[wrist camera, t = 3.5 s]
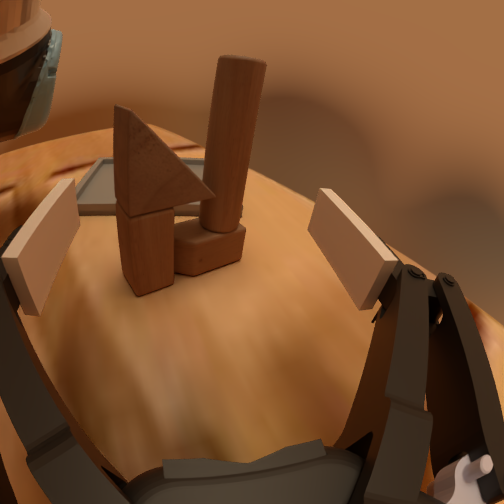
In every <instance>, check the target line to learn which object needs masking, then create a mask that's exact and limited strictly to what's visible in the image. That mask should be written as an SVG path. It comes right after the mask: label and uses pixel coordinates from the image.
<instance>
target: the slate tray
mask: <svg viewBox="0 0 504 504" xmlns="http://www.w3.org/2000/svg"><path fill="white" fill-rule="evenodd" d="M180 159H181V160H182V161H183V162H184V163H185V164H186V165H187V166H188V167H189V168H190V169H191V170H192V171H193V172H194V173H195V174H196V175H197V176H198V177H199V178H200V179H201V180H202V178H203V168H204V159H203V158H180ZM75 189H76V198H77V206H78V213H79V215H116V205H115V204H116V200H117V199H116V198H115V191H114V163H113V157H104V158H99V159H98V160H97V161H96V162H95V163H94V165H93V166H92V167H91V168H90V169H89V171H88V172H87V173H86V174H85V176H84V177H83V178H82V179H81V181H80V182H79V183H78V185H77V186H76V187H75ZM173 208H174V211H175V216H199V211H200V201H198V202H193V203H189V204H184V205H179V206H175V207H173ZM242 210H243V205H242V208H241V215H240V217H241V216H242Z"/></svg>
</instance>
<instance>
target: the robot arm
mask: <svg viewBox="0 0 504 504" xmlns="http://www.w3.org/2000/svg"><path fill="white" fill-rule="evenodd" d="M40 3H41V0H0V142H3V141H7V140H11V139H17V138H18V137H19V136H22V135H25V134H28V133H31V132H34V131H37V130H39V129H40V128H42V127H43V126H44V124H45V123H46V121H47V119H48V116H49V113H50V109H51V103H52V98H53V92H54V87H55V80H56V71H57V67H58V63H59V57H60V52H61V45H62V32H61V31H56V30H53V29H52V30H51V23H52V19H51V16H50V15H49V14H48V13H47V12H46V11H45V10H43V9H42V8H40ZM79 227H80V220H79V213H78V206H77V198H76V189H75V179H74V178H69V179H61V180H60V181H59V182H58V184H57V185H56V186H55V187H54V188H53V189H52V190H51V192H50V193H49V194H48V195H47V196H46V197H45V199H44V200H43V201H42V202H41V203H40V205H39V206H38V207H37V208H36V210H35V211H34V212H33V213H32V215H31V216H30V217H29V218H28V220H27V221H26V222H25V224H24V225H20V226H19V227H18V228H17V229H15V230H14V231H13V232H12V233H11V235H10V236H9V237H8V239H7V240H6V241H5V243H4V244H3V246H2V247H1V249H0V396H1V399H2V401H3V404H4V406H5V408H6V411H7V413H8V415H9V417H10V419H11V421H12V424H13V426H14V428H15V430H16V432H17V434H18V436H19V438H20V439H21V441H22V443H23V445H24V447H25V449H26V451H27V454H28V456H27V457H26V462H27V465H28V467H29V469H30V471H31V473H32V475H33V476H34V478H35V479H36V481H37V482H38V484H39V485H40V487H41V488H42V490H43V491H44V493H45V494H46V496H47V497H48V498H49V500H50V501H51V503H52V504H495V503H497V502H500V501H502V500H504V420H503V415H502V410H501V405H500V401H499V397H498V393H497V389H496V385H495V381H494V378H493V374H492V371H491V367H490V364H489V361H488V358H487V355H486V352H485V349H484V346H483V343H482V340H481V337H480V335H479V332H478V329H477V327H476V324H475V322H474V319H473V317H472V314H471V312H470V309H469V307H468V305H467V302H466V300H465V298H464V295H463V293H462V291H461V289H460V287H459V285H458V283H457V282H456V281H455V279H454V278H453V277H452V276H451V275H449V274H446V273H439V274H438V276H437V277H436V279H435V281H434V280H430V279H427V277H426V275H425V274H424V272H422V271H421V270H420V269H419V268H417V267H415V266H413V265H409V264H406V265H404V264H403V263H402V262H401V260H400V259H399V258H398V257H397V256H396V255H395V254H394V252H393V251H392V250H390V248H389V247H388V246H387V245H386V244H385V242H383V240H382V239H381V238H380V237H378V236H377V235H376V234H374V233H373V232H372V231H371V230H370V228H369V227H368V226H367V225H366V224H365V223H364V222H363V221H362V220H361V219H360V218H359V217H358V216H357V215H356V214H355V213H354V212H353V211H352V210H351V209H350V208H349V206H348V205H347V204H345V202H344V201H343V200H341V199H340V197H338V196H337V194H335V193H334V192H333V191H332V190H331V189H324V188H320V189H319V192H318V195H317V199H316V202H315V206H314V209H313V213H312V216H311V220H310V223H309V226H308V231H309V233H310V234H311V236H312V237H313V239H314V240H315V242H316V243H317V245H318V246H319V248H320V249H321V251H322V253H323V254H324V256H325V257H326V259H327V260H328V262H329V263H330V265H331V266H332V268H333V270H334V271H335V273H336V274H337V276H338V277H339V279H340V281H341V282H342V284H343V285H344V287H345V289H346V290H347V292H348V293H349V295H350V297H351V298H352V300H353V302H354V303H355V305H356V306H357V308H358V310H368V309H372V308H373V307H374V305H375V303H376V301H377V300H378V299H379V301H380V302H381V304H382V305H381V307H380V308H379V310H378V312H377V313H376V315H375V317H374V318H373V320H372V322H371V323H374V321H375V320H376V323H375V327H374V332H373V336H372V340H371V344H370V348H369V352H368V356H367V359H366V363H365V367H364V370H363V374H362V377H361V380H360V384H359V387H358V390H357V393H356V396H355V399H354V402H353V405H352V408H351V411H350V414H349V417H348V420H347V423H346V425H345V428H344V430H343V433H342V434H341V436H340V437H339V439H338V440H337V442H336V443H335V445H334V446H333V447H329V446H323V443H322V440H321V439H318V440H314V441H310V442H306V443H302V444H298V445H293V446H288V447H285V448H283V449H281V450H279V451H276V452H274V453H272V454H270V455H268V456H265V457H263V458H261V459H258V460H256V461H253V462H251V463H237V462H227V461H219V460H212V459H205V458H199V459H169V460H162V462H163V466H162V467H158V468H154V469H151V470H149V471H146V472H144V473H142V474H140V475H138V476H137V477H136V478H134V479H133V480H131V481H130V482H129V483H128V482H127V481H126V480H125V479H124V478H123V476H122V475H121V474H120V473H119V472H118V471H117V470H116V469H115V468H114V467H113V466H112V465H111V464H110V463H109V462H108V461H107V460H106V459H105V458H104V457H103V456H102V454H101V453H100V452H99V451H98V449H97V448H96V447H95V446H94V444H93V443H92V442H91V441H90V439H89V438H88V437H87V435H86V434H85V433H84V431H83V430H82V429H81V427H80V426H79V424H78V423H77V422H76V420H75V419H74V417H73V416H72V414H71V413H70V411H69V410H68V408H67V407H66V405H65V404H64V402H63V401H62V399H61V397H60V396H59V394H58V392H57V391H56V389H55V387H54V386H53V384H52V382H51V381H50V379H49V377H48V375H47V373H46V372H45V370H44V368H43V366H42V364H41V362H40V360H39V358H38V356H37V354H36V352H35V350H34V348H33V346H32V344H31V342H30V340H29V338H28V335H27V333H26V331H25V329H24V326H23V324H22V322H21V319H20V317H19V315H18V313H17V310H18V308H19V305H21V307H22V309H23V311H24V313H25V315H33V316H40V315H41V313H42V310H43V307H44V304H45V302H46V299H47V297H48V294H49V292H50V289H51V287H52V284H53V282H54V279H55V277H56V275H57V272H58V270H59V268H60V266H61V263H62V261H63V259H64V257H65V255H66V253H67V250H68V248H69V246H70V244H71V242H72V240H73V238H74V236H75V234H76V232H77V230H78V228H79ZM442 314H443V317H442V321H441V322H440V324H439V321H438V319H439V318H440V317H441V315H442ZM425 392H426V401H427V410H428V411H425V410H424V401H425ZM429 446H430V455H431V464H432V470H433V475H434V479H435V481H433V482H431V483H430V484H429V485H428V487H427V494H426V493H424V492H422V491H420V488H421V484H422V480H423V476H424V471H425V467H426V462H427V457H428V451H429ZM0 504H18V503H17V500H16V497H15V495H14V492H13V489H12V487H11V484H10V482H9V479H8V476H7V473H6V470H5V467H4V464H3V461H2V457H1V454H0Z"/></svg>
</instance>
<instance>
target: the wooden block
mask: <svg viewBox="0 0 504 504" xmlns="http://www.w3.org/2000/svg"><path fill="white" fill-rule="evenodd" d="M266 66H267V65H266V62H265V61H263V60H261V59H256V58H251V57H245V56H236V55H223V56H220V57H219V59H218V63H217V70H216V77H215V82H214V89H213V96H212V103H211V110H210V117H209V125H208V133H207V141H206V150H205V159H204V168H203V178H202V180H201V179H200V178H199V177H198V176H197V175H196V174H195V173H194V172H193V171H192V170H191V169H190V168H189V167H188V166H187V165H186V164H185V163H184V162H183V161H182V160H181V159H180V158H179V157H178V156H177V155H176V154H175V153H174V152H173V151H172V150H171V149H170V148H169V147H168V146H167V145H166V144H165V143H164V142H163V141H162V140H161V139H160V138H159V137H158V136H157V135H156V134H155V132H154V131H153V130H152V129H151V128H150V127H149V126H148V125H147V124H146V123H145V122H143V121H142V119H141V118H140V117H139V116H138V115H136V113H135V112H133V110H131V109H128V108H126V107H123V106H120V105H115V106H114V133H113V163H114V191H115V198H116V199H117V200H116V204H115V205H116V218H117V229H118V239H119V248H120V256H121V264H122V271H123V274H124V275H125V277H126V279H127V281H128V282H129V284H130V286H131V287H132V289H133V291H134V292H135V294H136V295H137V296H141V295H144V294H147V293H149V292H152V291H155V290H158V289H161V288H163V287H166V286H169V285H171V284H173V282H174V272H176V273H181V274H186V275H191V276H195V275H198V274H201V273H203V272H206V271H209V270H212V269H215V268H217V267H220V266H223V265H226V264H228V263H231V262H234V261H237V260H239V259H240V258H241V256H242V250H243V245H244V239H245V233H246V228H245V227H244V226H243V225H241V224H240V223H239V221H240V215H241V208H242V202H243V196H244V190H245V184H246V178H247V172H248V166H249V161H250V155H251V149H252V143H253V137H254V132H255V126H256V121H257V115H258V109H259V104H260V98H261V92H262V87H263V82H264V76H265V71H266ZM198 201H200V211H199V218H196V219H192V220H188V221H184V222H180V223H176V224H174V216H175V211H174V208H173V207H175V206H179V205H184V204H189V203H193V202H198Z"/></svg>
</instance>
